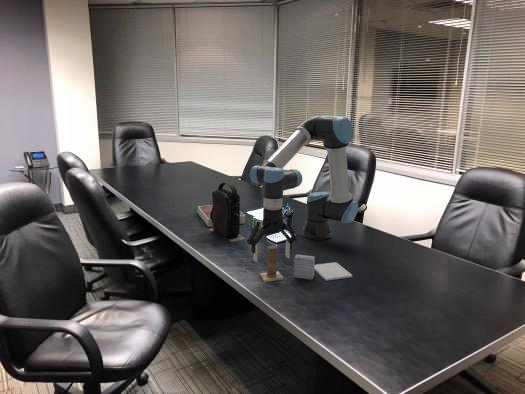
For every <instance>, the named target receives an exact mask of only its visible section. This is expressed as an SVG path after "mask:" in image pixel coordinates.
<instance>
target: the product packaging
mask: <svg viewBox="0 0 525 394" xmlns="http://www.w3.org/2000/svg"><path fill="white" fill-rule="evenodd" d="M212 206H213V204H211V205H210V204H209V205H198V206H197V215H198V216H199V217H200V218H201V220H202V221H203V222H204V223H205V224H206V226H207V227H208V228H210V227H211V228H213V223H212V220H211V219H210V213H211V210H212ZM240 224H241V225H242V224H246V215H245V214H244V213H243V212H242V211H240Z"/></svg>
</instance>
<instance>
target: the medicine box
mask: <svg viewBox="0 0 525 394" xmlns="http://www.w3.org/2000/svg"><path fill="white" fill-rule="evenodd" d="M315 259H316V257H315V256H314V255H313V256H312V255H305V254H295V256H294V257H293V278H295V279H296V278H297V279H305V280H311V281H312V280H314V276H315V270H314V266H315V265H316V264H315V261H316V260H315Z"/></svg>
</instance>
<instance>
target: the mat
mask: <svg viewBox="0 0 525 394" xmlns="http://www.w3.org/2000/svg"><path fill="white" fill-rule="evenodd" d="M314 272H316V273H317V274H318V275H319V276H320V277H321V278H322V279H324V280H325V282H326V281H334V280H340V279H347V278H348V279H349V278H353V274H351V273H350V272H349V270H346V269H345V268H344V267H343V266H341V265H340V263H338V262H326V263H317V264H315V266H314Z"/></svg>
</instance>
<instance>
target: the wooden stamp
mask: <svg viewBox="0 0 525 394" xmlns="http://www.w3.org/2000/svg"><path fill="white" fill-rule="evenodd" d="M266 250H267V251H266V272H261V273H259V277H260V278H261V279H262V281H263V282H264V283H266V282H267V283H268V282H274V281H282V280H284V276H283V275H282V274H281V273H280V271H279V270H278V271H277V267H278V266H277V261H278V260H277V259H278V248H277V247H276V246H275V245H271V246H267V248H266Z"/></svg>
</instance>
